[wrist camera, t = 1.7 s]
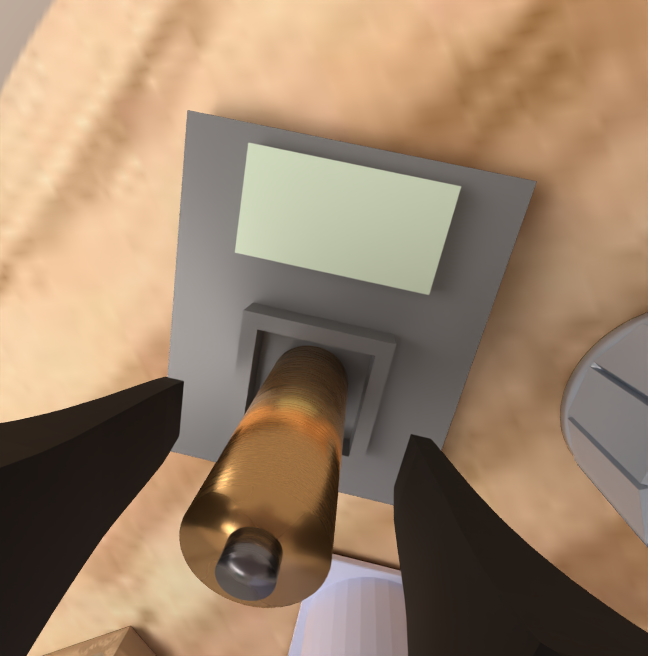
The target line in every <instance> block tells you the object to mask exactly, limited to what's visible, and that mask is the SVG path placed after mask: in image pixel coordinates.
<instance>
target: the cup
mask: <svg viewBox="0 0 648 656" xmlns="http://www.w3.org/2000/svg"><path fill="white" fill-rule="evenodd" d="M560 421H561V430H562V433H563V437H564V440H565V442H566V445H567V447H568V449H569V451H570V452H571V454H572V455H573V456H574V459H575V461H576V462H577V463H578V464H577V465H578V466H579V467H580V468H581V470H582V471H583V472H584V473H585V474H586V475H587V477H588V478H589V479H590V480H591V481H592V483H593V484H594V485H595V486H596V487H597V488H598V490H599V491H600V492H601V493H602V494H603V495H604V497H605V498H606V499H607V500H608V501H609V503H610V504H611V505H612V506H613V507H614V508H615V510H616V511H617V512H618V513H619V514H620V515H621V517H622V518H623V519H624V520H625V521H626V523H627V524H628V525H629V526H630V527H631V528H632V530H633V531H634V532H635V533H636V534H637V536H638V537H639V538H640V539H641V540H642V541H643V543H644V544H645V545H646V546H647V547H648V312H647V313H645V314H642V315H640V316H638V317H635V318H633V319H631V320H629V321H627V322H626V323H624V324H622V325H620V326H618V327H617V328H615V329H614V330H613V331H611V332H610V333H608V334H607V335H605V336H604V337H603V338H602V339H601V340H600V341H598V342H597V343H596V344H595V345H594V346H593V347H592V348H591V349H590V350H589V351H588V352H587V353H586V354H585V356H584V357H583V358H582V359H581V361H580V362H579V363H578V365H577V366H576V368H575V369H574V371H573V373H572V375H571V376H570V378H569V380H568V382H567V385H566V388H565V390H564V393H563V398H562V402H561V410H560Z"/></svg>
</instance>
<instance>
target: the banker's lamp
mask: <svg viewBox="0 0 648 656" xmlns="http://www.w3.org/2000/svg"><path fill="white" fill-rule="evenodd" d="M44 656H156V655H155V654H154V653H153V651H152V650H151V649H150V648H149V647H148V646H147V645H146V643H145V642H144V641H143V640H142V639H141V638H140V637H139V635H138V634H137V633H136V632H135V631H134V630H133V629H132V627H131V626H129V627H126V628H123V629H120V630H117V631H114V632H111V633H108V634H105V635H102V636H100V637H97V638H94V639H91V640H88V641H85V642H82V643H79V644H76V645H73V646H70V647H67V648H64V649H61V650H58V651H55V652H52V653H49V654H46V655H44Z"/></svg>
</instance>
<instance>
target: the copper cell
mask: <svg viewBox="0 0 648 656" xmlns="http://www.w3.org/2000/svg"><path fill="white" fill-rule="evenodd" d="M347 394H348V376H347V372H346V370H345V368H344V366H343V364H342V363H341V361H340V360H339V359H338V358H337V357H336V356H335V355H334V354H332V353H331V352H329V351H327V350H325V349H323V348H320V347H317V346H307V345H306V346H299V347H295V348H292V349H290V350H288V351H287V352H285V353H284V354H283V355H281V356H280V357H279V359H278V360H277V361H276V363H275V365H274V366H273V368H272V370H271V371H270V373H269V375H268V376H267V378H266V380H265V381H264V383H263V385H262V386H261V388H260V390H259V391H258V393H257V395H256V396H255V398H254V400H253V401H252V403H251V405H250V407H249V408H248V410H247V412H246V413H245V415H244V417H243V418H242V420H241V422H240V423H239V425H238V427H237V428H236V430H235V432H234V433H233V435H232V437H231V438H230V440H229V442H228V443H227V445H226V447H225V448H224V450H223V452H222V453H221V455H220V457H219V458H218V460H217V462H216V463H215V465H214V467H213V468H212V470H211V472H210V473H209V475H208V477H207V478H206V480H205V482H204V483H203V485H202V487H201V488H200V490H199V492H198V493H197V495H196V497H195V498H194V500H193V502H192V503H191V505H190V507H189V508H188V510H187V512H186V514H185V515H184V517H183V520H182V523H181V527H180V546H181V550H182V553H183V556H184V558H185V560H186V562H187V564H188V566H189V567H190V569H191V570H192V572H193V573H194V574H195V575H196V577H197V578H198V579H199V580H200V581H201V582H202V583H204V584H205V585H206V586H207V587H209V588H210V589H211V590H213V591H214V592H216V593H217V594H219V595H221V596H223V597H225V598H227V599H229V600H232V601H234V602H237V603H240V604H244V605H248V606H253V607H262V608H275V607H283V606H288V605H292V604H295V603H298V602H300V601H302V600H304V599H306V598H308V597H309V596H311V595H313V594H314V593H315V592H316V591H317V590H318V589H319V588H320V587H321V586H322V585H323V583H324V582H325V580H326V578H327V577H328V574H329V571H330V568H331V563H332V553H333V542H334V532H335V521H336V511H337V500H338V490H339V479H340V468H341V458H342V447H343V437H344V426H345V415H346V405H347Z"/></svg>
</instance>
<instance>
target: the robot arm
mask: <svg viewBox="0 0 648 656" xmlns="http://www.w3.org/2000/svg"><path fill="white" fill-rule="evenodd" d="M183 389H184V381H182V380H178V379H173V378H169V377H162V378H158V379H155V380H152V381H149V382H146V383H143V384H140V385H137V386H134V387H131V388H128V389H126V390H123V391H120V392H117V393H114V394H111V395H108V396H105V397H102V398H99V399H95V400H92V401H89V402H86V403H82V404H79V405H76V406H73V407H69V408H66V409H62V410H59V411H55V412H51V413H47V414H43V415H38V416H34V417H29V418H25V419H20V420H16V421H10V422H5V423H0V656H27V654H28V652H29V651H30V649H31V647H32V646H33V644H34V643H35V641H36V639H37V638H38V636H39V634H40V633H41V631H42V629H43V628H44V626H45V625H46V623H47V621H48V620H49V618H50V616H51V615H52V613H53V612H54V610H55V609H56V607H57V606H58V604H59V602H60V601H61V599H62V598H63V596H64V595H65V593H66V592H67V590H68V588H69V587H70V585H71V584H72V582H73V581H74V579H75V578H76V576H77V575H78V573H79V572H80V570H81V569H82V567H83V566H84V564H85V563H86V561H87V560H88V558H89V557H90V555H91V554H92V552H93V551H94V549H95V548H96V546H97V545H98V544H99V542H100V541H101V539H102V538H103V537H104V535H105V534H106V533H107V531H108V530H109V529H110V527H111V526H112V525H113V523H114V522H115V521H116V520H117V519H118V517H119V516H120V515H121V514H122V513H123V511H124V510H125V509H126V508H127V506H128V505H129V504H130V503H131V502H132V500H133V499H134V498H135V497H136V496H137V494H138V493H139V492H140V491H141V489H142V488H143V487H144V486H145V485H146V483H147V482H148V481H149V480H150V478H151V477H152V476H153V475H154V474H155V472H156V471H157V470H158V469H159V467H160V466H161V465H162V463H163V462H164V460H165V459H166V457H167V456H168V454H169V453H170V451H171V449H172V448H173V446H174V444H175V443H176V441H177V439H178V438H179V435H180V423H181V412H182V401H183ZM394 524H395V532H396V540H397V547H398V555H399V562H400V569H401V571H400V570H396V569H392V568H388V567H384V566H380V565H376V564H372V563H368V562H364V561H360V560H356V559H352V558H348V557H344V556H340V555H336V554H332V563H331V568H330V571H329V574H328V577H327V578H326V580H325V582H324V583H323V585H322V586H321V587H320V588H319V589H318V590H317V591H316V592H315V593H314V594H313V595H311V596H309V597H308V598H306V599H304V600H302V601H301V605H300V609H299V613H298V617H297V621H296V625H295V629H294V633H293V637H292V641H291V645H290V649H289V653H288V656H648V633H647V632H646V631H644V630H642V629H641V628H639V627H638V626H636V625H635V624H633V623H632V622H630V621H628V620H627V619H626V618H624V617H623V616H621V615H620V614H618V613H617V612H615V611H614V610H613V609H611V608H610V607H608V606H607V605H606V604H604V603H603V602H601V601H600V600H599V599H597V598H596V597H594V596H593V595H591V594H590V593H589V592H587V591H586V590H585V589H583V588H582V587H581V586H579V585H578V584H577V583H575V582H574V581H573V580H571V579H570V578H569V577H568V576H566V575H565V574H564V573H563V572H561V571H560V570H559V569H558V568H556V567H555V566H554V565H553V564H551V563H550V562H549V561H548V560H547V559H545V558H544V557H543V556H542V555H540V554H539V553H538V552H537V551H536V550H535V549H533V548H532V547H531V546H530V545H529V544H528V543H527V542H526V541H524V540H523V539H522V538H521V537H520V536H519V535H518V534H517V533H516V532H515V531H514V530H513V529H511V528H510V527H509V526H508V525H507V524H506V523H505V522H504V521H503V520H502V519H501V518H500V517H499V516H498V515H497V514H496V513H495V512H494V511H493V510H492V509H491V508H490V507H489V506H488V504H487V503H486V502H485V501H484V500H483V499H482V498H481V497H480V496H479V495H478V494H477V493H476V491H475V490H474V489H473V488H472V487H471V486H470V485H469V484H468V482H467V481H466V480H465V479H464V478H463V476H462V475H461V474H460V473H459V472H458V471H457V469H456V468H455V467H454V466H453V464H452V463H451V462H450V461H449V460H448V458H447V457H446V456H445V455H444V453H443V452H442V451H441V450H440V449H439V447H438V446H437V445H436V444H435V443H434V442H433V440H432V439H431V438H426V437H422V436H418V435H413V434H411V435H410V438H409V441H408V444H407V448H406V451H405V454H404V457H403V460H402V463H401V466H400V469H399V472H398V476H397V479H396V482H395V485H394Z"/></svg>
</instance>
